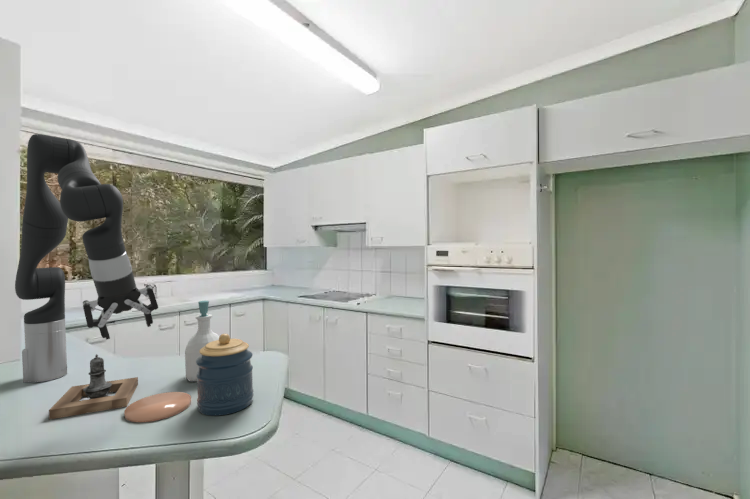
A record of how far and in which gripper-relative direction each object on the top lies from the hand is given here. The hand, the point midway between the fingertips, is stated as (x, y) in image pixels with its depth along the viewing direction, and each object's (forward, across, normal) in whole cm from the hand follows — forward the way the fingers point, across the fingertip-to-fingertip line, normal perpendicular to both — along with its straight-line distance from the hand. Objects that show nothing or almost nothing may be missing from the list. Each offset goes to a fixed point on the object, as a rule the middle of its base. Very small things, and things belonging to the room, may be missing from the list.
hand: (128, 331), depth 90 cm
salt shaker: (+19, +10, -4) cm, 22 cm away
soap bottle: (+24, -15, -2) cm, 29 cm away
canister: (+17, -15, +20) cm, 30 cm away
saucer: (+17, -2, +11) cm, 20 cm away
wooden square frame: (+19, +10, -4) cm, 22 cm away
